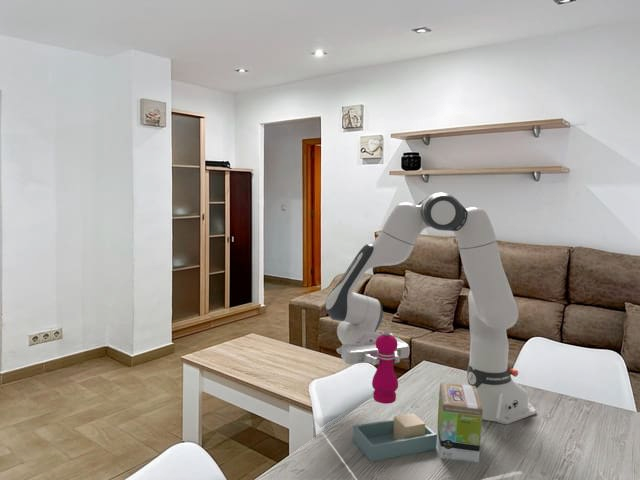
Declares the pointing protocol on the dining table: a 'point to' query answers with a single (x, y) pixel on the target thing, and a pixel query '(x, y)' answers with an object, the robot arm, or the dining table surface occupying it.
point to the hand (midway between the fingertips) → (387, 361)
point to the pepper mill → (385, 369)
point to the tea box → (459, 422)
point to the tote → (390, 441)
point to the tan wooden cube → (408, 426)
